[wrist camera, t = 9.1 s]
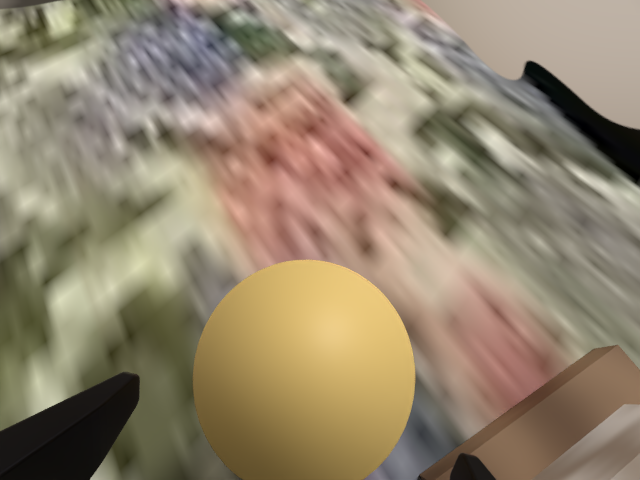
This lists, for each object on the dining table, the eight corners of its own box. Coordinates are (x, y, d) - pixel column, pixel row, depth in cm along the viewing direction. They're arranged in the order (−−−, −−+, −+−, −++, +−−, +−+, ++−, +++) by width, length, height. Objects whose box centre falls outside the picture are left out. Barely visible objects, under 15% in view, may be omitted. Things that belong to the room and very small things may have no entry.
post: (325, 450, 15) (371, 551, 5) (242, 407, 16) (144, 426, 6) (358, 359, 17) (439, 308, 7) (283, 324, 18) (261, 231, 8)
